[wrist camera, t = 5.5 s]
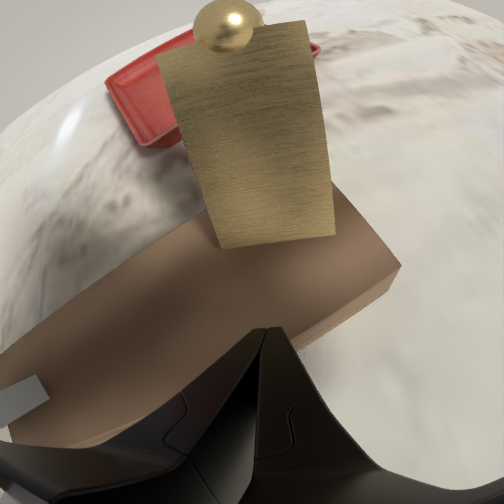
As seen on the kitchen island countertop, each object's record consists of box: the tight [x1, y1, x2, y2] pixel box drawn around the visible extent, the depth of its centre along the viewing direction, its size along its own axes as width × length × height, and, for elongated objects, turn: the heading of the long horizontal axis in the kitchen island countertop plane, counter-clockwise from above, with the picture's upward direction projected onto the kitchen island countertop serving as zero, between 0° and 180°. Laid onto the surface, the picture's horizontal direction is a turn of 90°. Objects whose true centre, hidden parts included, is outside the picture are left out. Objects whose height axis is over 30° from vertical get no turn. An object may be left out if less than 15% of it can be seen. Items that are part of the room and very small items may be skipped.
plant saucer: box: [105, 24, 321, 148], centre depth 28 cm, size 18×18×3 cm
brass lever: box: [155, 0, 336, 249], centre depth 11 cm, size 2×5×10 cm, turn 92°
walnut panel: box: [0, 181, 402, 448], centre depth 16 cm, size 8×26×4 cm, turn 119°
